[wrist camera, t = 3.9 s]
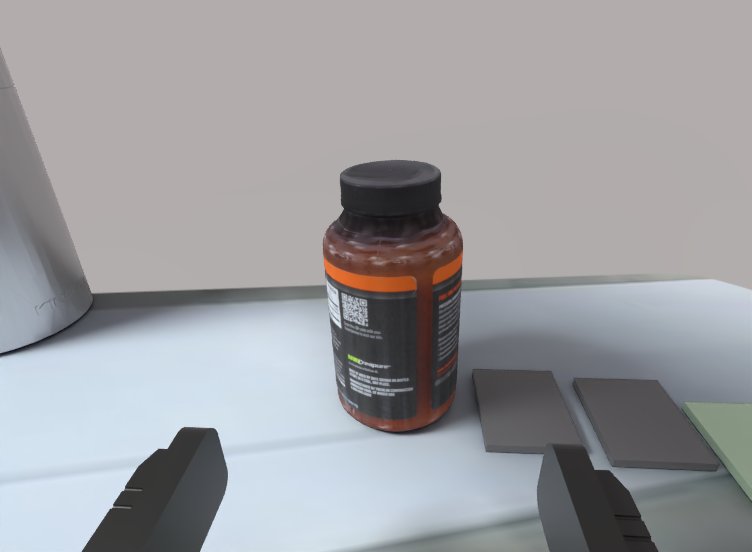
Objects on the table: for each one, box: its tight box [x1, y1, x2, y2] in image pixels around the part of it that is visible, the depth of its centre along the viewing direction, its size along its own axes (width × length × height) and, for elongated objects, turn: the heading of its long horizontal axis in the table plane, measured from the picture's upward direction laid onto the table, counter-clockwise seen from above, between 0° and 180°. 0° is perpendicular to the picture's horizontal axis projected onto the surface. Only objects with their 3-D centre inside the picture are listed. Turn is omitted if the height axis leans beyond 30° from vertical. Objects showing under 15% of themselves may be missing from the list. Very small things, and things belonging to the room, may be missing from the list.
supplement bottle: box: [323, 160, 463, 432], centre depth 20 cm, size 6×6×11 cm
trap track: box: [472, 369, 752, 501], centre depth 19 cm, size 16×7×1 cm, turn 86°
